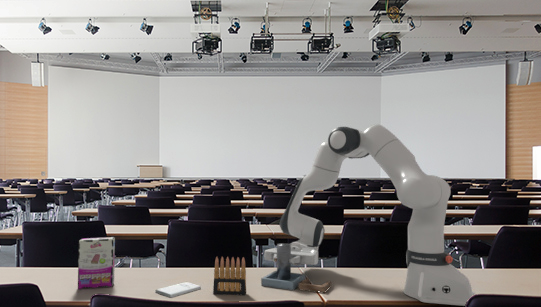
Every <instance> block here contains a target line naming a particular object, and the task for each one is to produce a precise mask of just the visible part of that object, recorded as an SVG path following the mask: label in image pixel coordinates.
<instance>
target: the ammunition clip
mask: <svg viewBox="0 0 541 307" xmlns="http://www.w3.org/2000/svg"><path fill="white" fill-rule="evenodd" d="M224 260H226V261H224ZM246 273H247V271H246V259H245V257H244V256H243V257H242V259H241V261H240V257H238V256H237V258H236V263H235V258H234V256H232V257H231V261H230V258H229V256H227V257H226V259H224V257H223V256H221V258H220V264H219V258H218V256H216V257H215V261H214V270H213V275H214V276H213V286H212V287H213V288H212V289H213V290H212V295H215V296H217V295H219V296H220V295H221V296H246V295H247V274H246Z"/></svg>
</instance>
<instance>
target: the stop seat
mask: <svg viewBox="0 0 541 307" xmlns="http://www.w3.org/2000/svg"><path fill="white" fill-rule="evenodd" d="M331 284H332V282H331V281H330V280H327V281H326V282H324V283H323V284H322V285H320V284H319V285H318V284H312V283H310V278H308V277H307V278H306V277H305V280H303V281H302V282H300V283H299V286H298V290H299V289H301V290H300V291H305V290H310V291H309V292H312V291H315V292H314V293H319V292H318V291H320V292H325V291H326V290H327V289H328V288H329V287H330V286H331V287H332V285H331ZM331 287H330V288H331ZM330 288H329V289H330ZM329 289H328V290H329ZM328 290H327V291H328ZM327 291H326V292H327ZM326 292H325V293H326Z"/></svg>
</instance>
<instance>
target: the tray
mask: <svg viewBox="0 0 541 307" xmlns="http://www.w3.org/2000/svg"><path fill="white" fill-rule="evenodd" d="M305 279H306V274H305V273H296V272H291V279H290V280H278V279H277V270H274V271H272V272H271V273H268V274H266V275H265V276H263V277H261V279H260V281H261V282H260V283H261V286H262V287H270V288H274V289H275V288H276V289H283V290H289V291H293V290H296V289H297V288H299V283H300V282H302V281H303V280H305ZM296 287H297V288H296Z"/></svg>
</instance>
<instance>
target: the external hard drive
mask: <svg viewBox="0 0 541 307" xmlns="http://www.w3.org/2000/svg"><path fill="white" fill-rule="evenodd" d="M201 288H202V287H201V285H198V284H194V283H192V282H188V281H185V282H181V283H177V284H172V285H169V286H165V287H161V288H157V289H155V293H156V294H159V295H162V296H164V297H167V298H174V297H178V296H181V295H185V294H189V293H191V292H194V291H197V290H201Z"/></svg>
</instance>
